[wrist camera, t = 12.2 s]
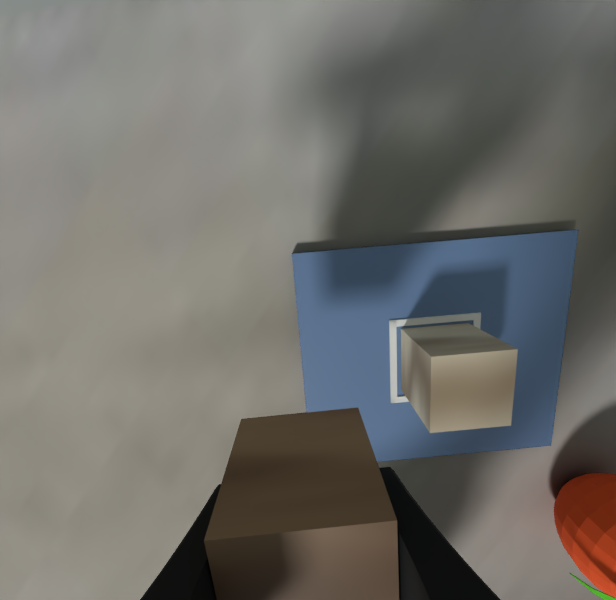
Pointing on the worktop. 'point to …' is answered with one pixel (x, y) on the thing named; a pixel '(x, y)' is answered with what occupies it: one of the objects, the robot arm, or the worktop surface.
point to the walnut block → (303, 513)
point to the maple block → (458, 377)
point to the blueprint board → (432, 312)
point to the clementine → (590, 528)
